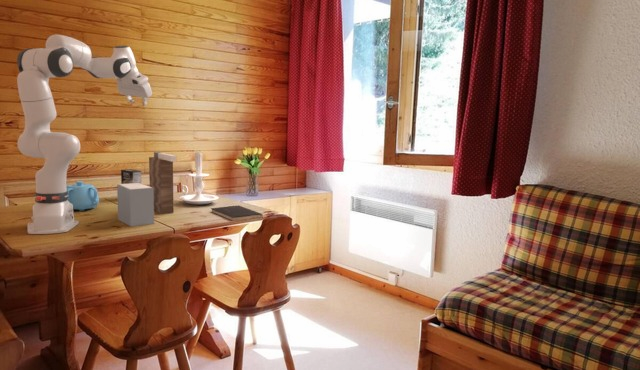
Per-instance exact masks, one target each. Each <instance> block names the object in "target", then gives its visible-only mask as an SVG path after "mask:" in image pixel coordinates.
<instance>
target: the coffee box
mask: <svg viewBox="0 0 640 370" xmlns="http://www.w3.org/2000/svg"><path fill="white" fill-rule="evenodd" d="M120 179H121V180H120V182H121V183H120V184H129V183H141V184H142V170H138V169H132V168H130V169H121V170H120Z"/></svg>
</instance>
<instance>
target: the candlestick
mask: <svg viewBox="0 0 640 370" xmlns="http://www.w3.org/2000/svg"><path fill="white" fill-rule="evenodd" d="M194 168H195V173H188V174H187V176H190V177H192V178H195V181H194V182H193V189H194V190H195V191H196V193H195V194H188V192H189V187H188V186H187V185H184V184H181V186H182V188H181V191H182V193H183V195H181V196H179V198H178V199H179V200H181V201H183V202H184V203H186V204H190V205H209V204H210V203H213V202H215V201H216V200H218V199H219V198H220V197H219V196H218V195H214V194H204V193H203V194H202V191H203V190H204V189H205V183H204V181H203V178H205V177H208V176H210V174H209V173H203V152H202V153H201V152H199V151H198V152H195V153H194ZM184 188H185V189H186V190H185V189H184Z"/></svg>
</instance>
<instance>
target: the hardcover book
mask: <svg viewBox="0 0 640 370" xmlns="http://www.w3.org/2000/svg"><path fill="white" fill-rule="evenodd" d="M210 209H211V213H213V214H217V215H219V216H221V217H223V218H225V219H229V220H230V221H233V222H234V221H242V220H249V219H250V220H251V219H257V218H258V219H259V218H263V213H261V212H258V211H255V210H253V209H249V208H247V207H244V206H242V205H239V204H237V205H231V206H230V205H229V206H222V207H220V206H219V207H211V208H210Z"/></svg>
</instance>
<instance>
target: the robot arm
mask: <svg viewBox="0 0 640 370" xmlns="http://www.w3.org/2000/svg"><path fill="white" fill-rule="evenodd" d="M112 49H113V51H112V54H111V56H110V57H103V56H102V57H101V56H93V55H92V50H91V47H90V46H89V45H87V44H86V43H85V42H83V41H81V40H78V39H76V38H74V37H70V36H67V35H62V34H56V33H55V34H52V35H50V36H49V37H48V38H47V39H46V42H45V47H44V48H43V47H42V48H41V47H40V48H37V47H36V48H25V49H22V50H21V51H19V53H18V54H17V58H16V59H17V60H16V62H17V63H16V64H17V68H18V72H19V73H18V75H17V76H16V77H17V79H16V81H17V82H16V83H17V90H18V91H17V92H18V95H19V99H20V103H21V107H22V111H23V114H24V121H25V122H24V129H23V131H22V133H21V134H20V135H19V137H18V139H17V142H16V143H17V149H18V151H19V152H20V153H21V154H23V155H24V156H28V157H31V158H34V159H35V158H36V159H44V160H45V161H44V164H43V167H42V168H40V169H39V170H37V171H36V173H35V191H36V192H35V193H34V201H35V203H34V204H33V205H32V216H30V220H31V221H33V222H28V223H27V224H26V225H27V227H26V228H27V234H28V235H49V234H61V233H66V232H69V231H70V230H72V229H73V228H74V227H76V226H78V225H79V220H75V218H74V217H75V216H74V209H73V205H72V204H71V203H70V202H69V201H68V191H67V185H68V184H67V175H68V169H69V166H70V164H71V163H72V161H73V160H74V159H75V158H76V157H77V156H78V155H79V154H80V151H81V146H82V145H81V142H80V139H79V138H78V137H77V136H76V135H73V134H70V133H67V132H63V131H62V132H60V131H58V132H57V131H51V127H50V126H51V122H53V121H54V120H55V119H56V118H57V114H58V113H57V109H56V105H55V101H54V97H53V93H52V91H51V87H50V85H49V84H50V83H49V81H50V78H64V77H68V76H71V74H72V72H73V70H74V67H76V68H80V69H83V70H85V71H86V72H88V73H89V74H90V76H92V77H93V78H95V79H116V86H117V90H118V94H120V95H123V96H125V98H126V99H127V100H128V102H129V104H134V103H135V101H134V98H132V97H135V98H136V97H137V98H142V100H143V101H142V105H143V106H147V105H148V99H149V98H150V97H152V96H153V90H152V88H151V85H150V82H149V77H148V76H146V75H144V74H143V73H141V72H139V69H138V68H137V62H136V58H135V55H134V53H133V51H132V48H131V47H130V46H128V45H116V46H114V47H113V48H112Z"/></svg>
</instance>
